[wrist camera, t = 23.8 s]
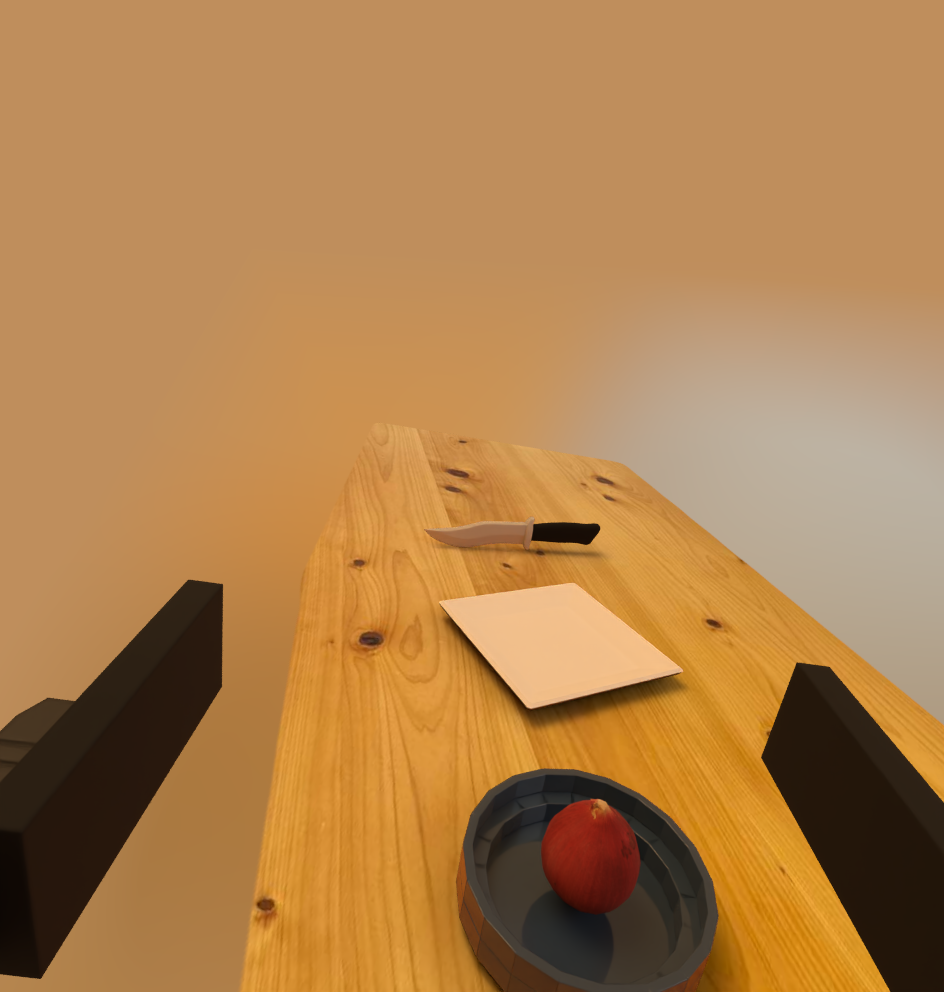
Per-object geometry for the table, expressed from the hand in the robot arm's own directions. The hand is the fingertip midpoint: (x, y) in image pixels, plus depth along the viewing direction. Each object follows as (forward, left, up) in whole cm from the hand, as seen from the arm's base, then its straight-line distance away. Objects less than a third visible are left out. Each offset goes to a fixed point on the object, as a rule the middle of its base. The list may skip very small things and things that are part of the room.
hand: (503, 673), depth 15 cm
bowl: (+6, +18, -28) cm, 34 cm away
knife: (-6, +70, -29) cm, 76 cm away
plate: (+2, +47, -29) cm, 55 cm away
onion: (+6, +18, -28) cm, 34 cm away
